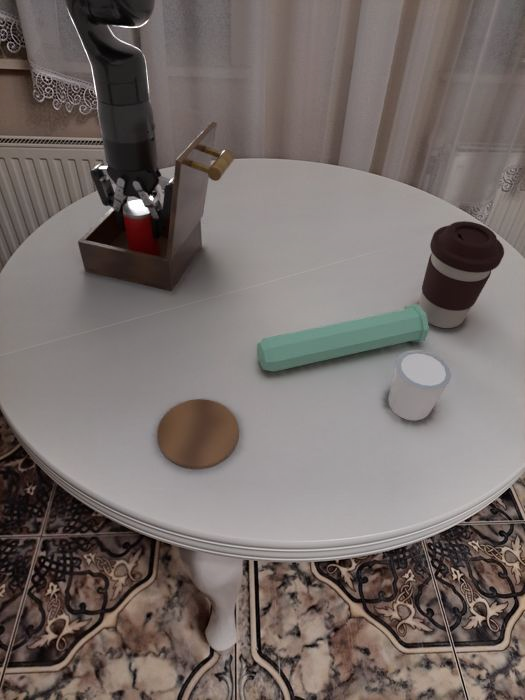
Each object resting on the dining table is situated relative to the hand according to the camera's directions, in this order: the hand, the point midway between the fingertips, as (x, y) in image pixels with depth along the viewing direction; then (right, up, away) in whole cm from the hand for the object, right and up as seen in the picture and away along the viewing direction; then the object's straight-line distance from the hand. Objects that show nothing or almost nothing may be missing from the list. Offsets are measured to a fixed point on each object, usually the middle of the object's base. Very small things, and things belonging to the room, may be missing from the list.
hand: (142, 232), depth 84 cm
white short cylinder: (+40, -27, -16) cm, 51 cm away
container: (+31, -20, -10) cm, 38 cm away
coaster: (+12, -30, -21) cm, 39 cm away
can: (0, -3, +3) cm, 4 cm away
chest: (0, -4, +4) cm, 5 cm away
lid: (+9, +4, -8) cm, 13 cm away
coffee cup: (+49, -14, -3) cm, 51 cm away
